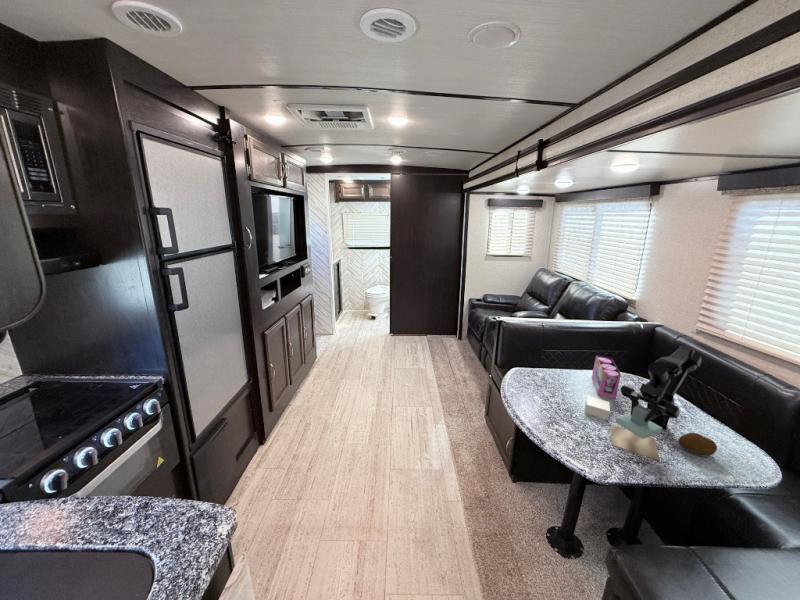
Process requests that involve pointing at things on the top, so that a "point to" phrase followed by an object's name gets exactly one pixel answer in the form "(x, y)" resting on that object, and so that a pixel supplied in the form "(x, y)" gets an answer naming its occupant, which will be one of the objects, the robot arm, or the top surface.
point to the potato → (697, 444)
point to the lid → (639, 423)
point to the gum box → (606, 377)
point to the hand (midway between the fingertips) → (638, 418)
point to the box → (597, 407)
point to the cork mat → (634, 443)
